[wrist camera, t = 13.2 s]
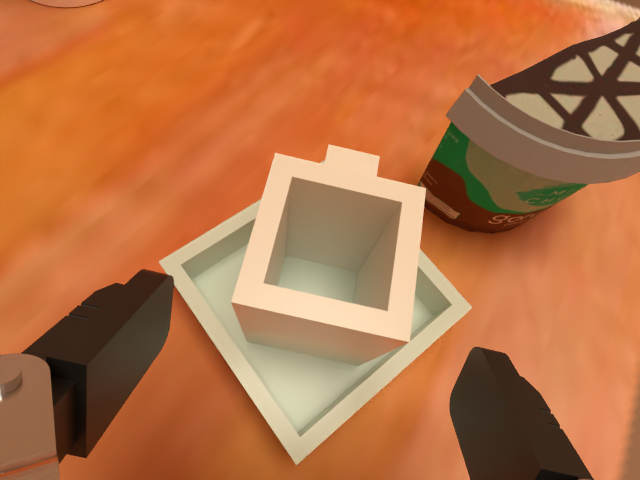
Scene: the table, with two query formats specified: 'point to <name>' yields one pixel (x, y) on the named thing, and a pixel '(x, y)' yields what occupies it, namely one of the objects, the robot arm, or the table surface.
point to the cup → (66, 2)
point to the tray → (290, 367)
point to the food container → (539, 135)
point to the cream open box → (332, 258)
